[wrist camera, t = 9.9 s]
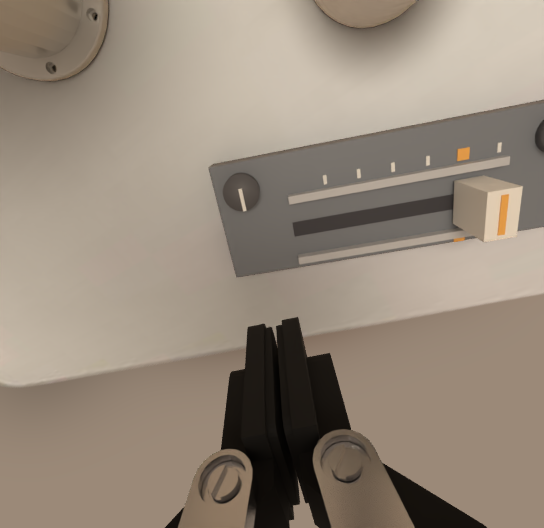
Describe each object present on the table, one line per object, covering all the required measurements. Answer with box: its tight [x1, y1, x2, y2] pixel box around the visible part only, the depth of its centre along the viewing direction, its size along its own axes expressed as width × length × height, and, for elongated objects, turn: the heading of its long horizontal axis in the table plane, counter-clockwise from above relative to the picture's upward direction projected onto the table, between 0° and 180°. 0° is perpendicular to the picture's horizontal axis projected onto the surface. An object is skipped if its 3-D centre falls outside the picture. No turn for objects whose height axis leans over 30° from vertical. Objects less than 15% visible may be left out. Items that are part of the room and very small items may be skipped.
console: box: [209, 100, 544, 277], centre depth 31 cm, size 11×32×4 cm, turn 101°
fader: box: [453, 175, 523, 242], centre depth 27 cm, size 4×2×5 cm, turn 11°
